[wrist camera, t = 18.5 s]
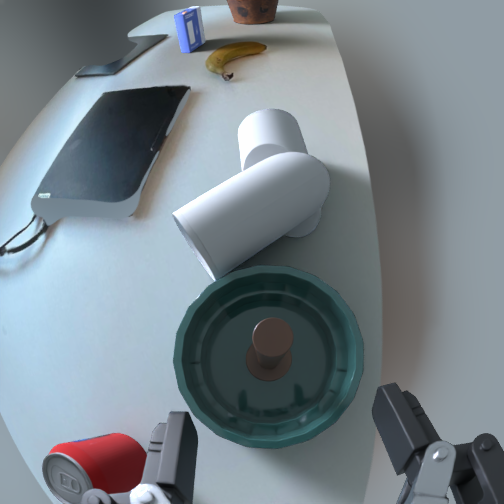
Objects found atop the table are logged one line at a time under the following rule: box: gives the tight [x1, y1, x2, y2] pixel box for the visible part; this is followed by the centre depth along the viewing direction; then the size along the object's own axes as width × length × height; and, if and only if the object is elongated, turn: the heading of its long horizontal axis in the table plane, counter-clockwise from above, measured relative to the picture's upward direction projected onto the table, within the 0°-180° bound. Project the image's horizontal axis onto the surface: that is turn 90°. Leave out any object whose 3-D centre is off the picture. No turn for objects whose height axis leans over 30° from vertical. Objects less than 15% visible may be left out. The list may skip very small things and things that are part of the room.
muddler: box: [246, 318, 294, 381], centre depth 21 cm, size 4×4×16 cm
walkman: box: [174, 6, 205, 53], centre depth 55 cm, size 8×3×12 cm, turn 155°
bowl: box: [173, 265, 364, 449], centre depth 26 cm, size 17×17×6 cm
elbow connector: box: [172, 109, 330, 281], centre depth 33 cm, size 18×10×20 cm
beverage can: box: [42, 433, 147, 504], centre depth 18 cm, size 7×7×12 cm
